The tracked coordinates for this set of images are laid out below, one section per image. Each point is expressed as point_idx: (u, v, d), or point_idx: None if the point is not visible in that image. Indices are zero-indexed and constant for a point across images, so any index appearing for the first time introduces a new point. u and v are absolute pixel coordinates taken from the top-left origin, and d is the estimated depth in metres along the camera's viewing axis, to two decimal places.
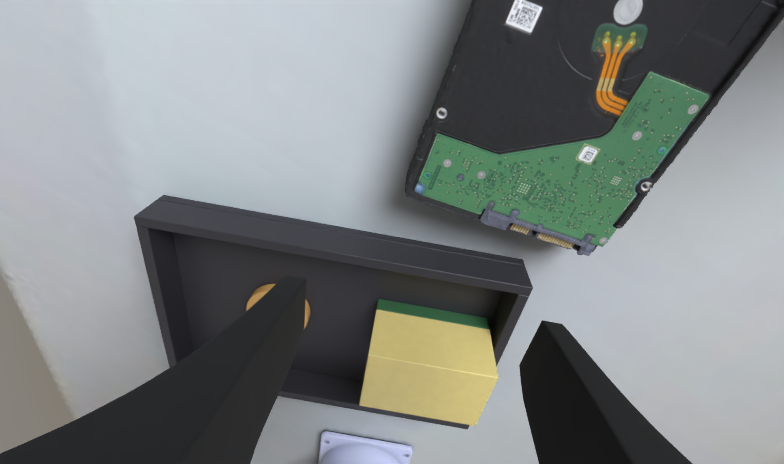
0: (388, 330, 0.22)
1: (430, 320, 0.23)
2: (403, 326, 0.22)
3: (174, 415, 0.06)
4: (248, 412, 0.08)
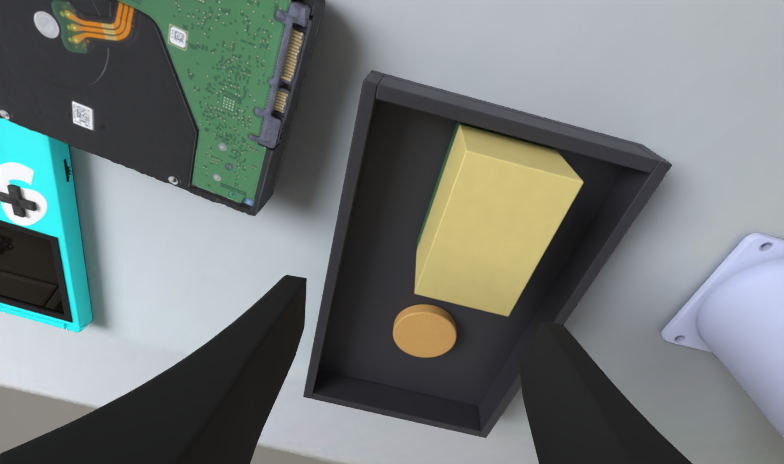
0: (420, 254, 0.18)
1: (434, 198, 0.18)
2: (425, 234, 0.18)
3: (174, 415, 0.06)
4: (248, 412, 0.08)
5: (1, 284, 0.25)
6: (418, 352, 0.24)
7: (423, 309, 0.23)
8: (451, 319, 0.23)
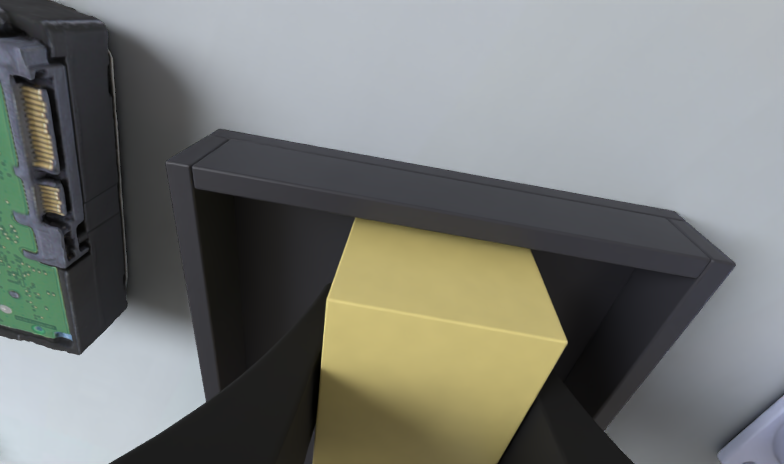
0: None
1: None
2: None
3: (253, 428, 0.06)
4: (306, 422, 0.08)
5: None
6: None
7: None
8: None
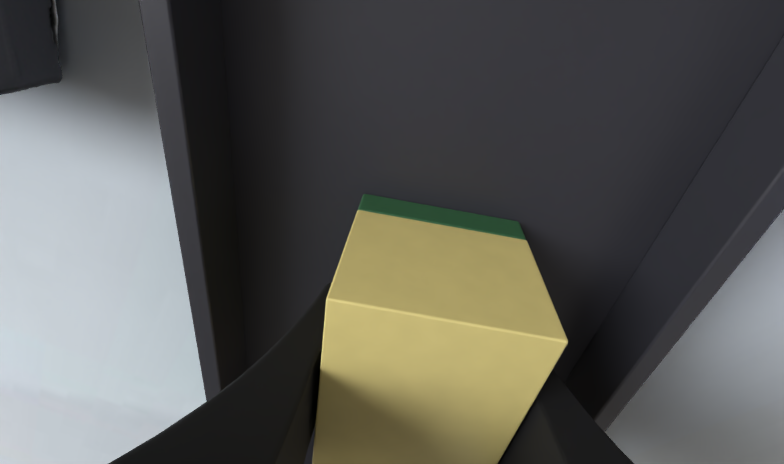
0: None
1: None
2: None
3: (253, 429, 0.06)
4: (305, 422, 0.08)
5: None
6: None
7: None
8: None
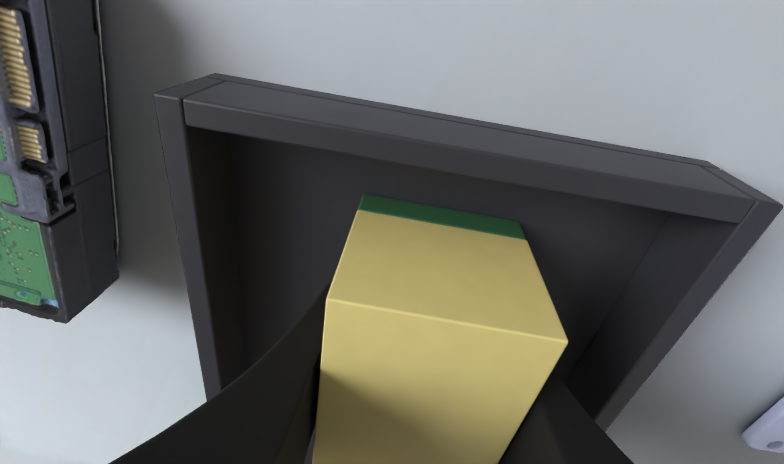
0: None
1: None
2: None
3: (253, 429, 0.06)
4: (305, 422, 0.08)
5: None
6: None
7: None
8: None
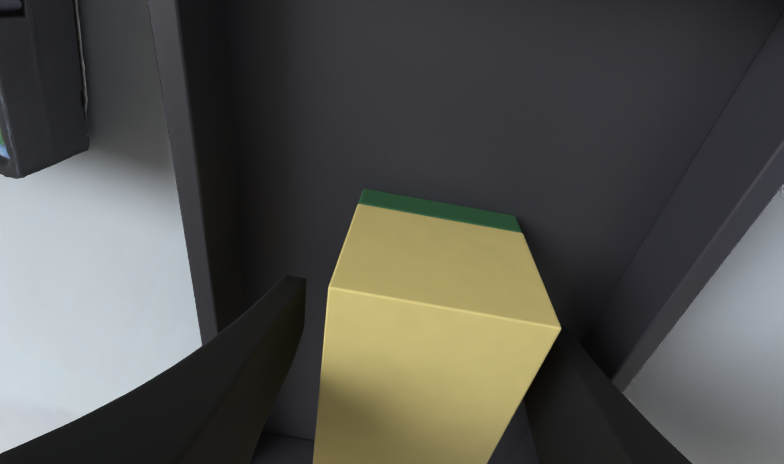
0: None
1: None
2: None
3: (175, 415, 0.06)
4: (248, 412, 0.08)
5: None
6: None
7: None
8: None
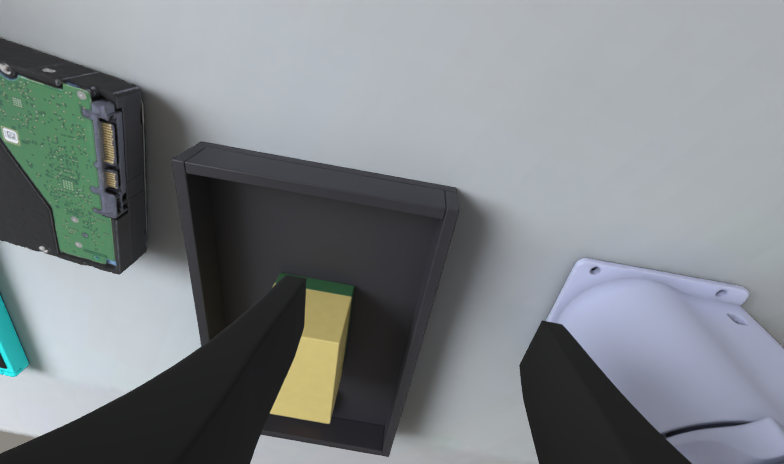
0: None
1: None
2: None
3: (175, 415, 0.06)
4: (248, 412, 0.08)
5: None
6: None
7: None
8: None
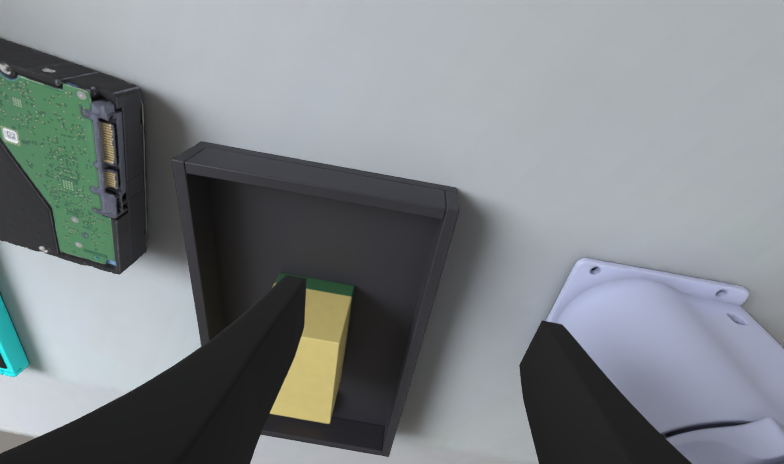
0: None
1: None
2: None
3: (175, 415, 0.06)
4: (248, 412, 0.08)
5: None
6: None
7: None
8: None
